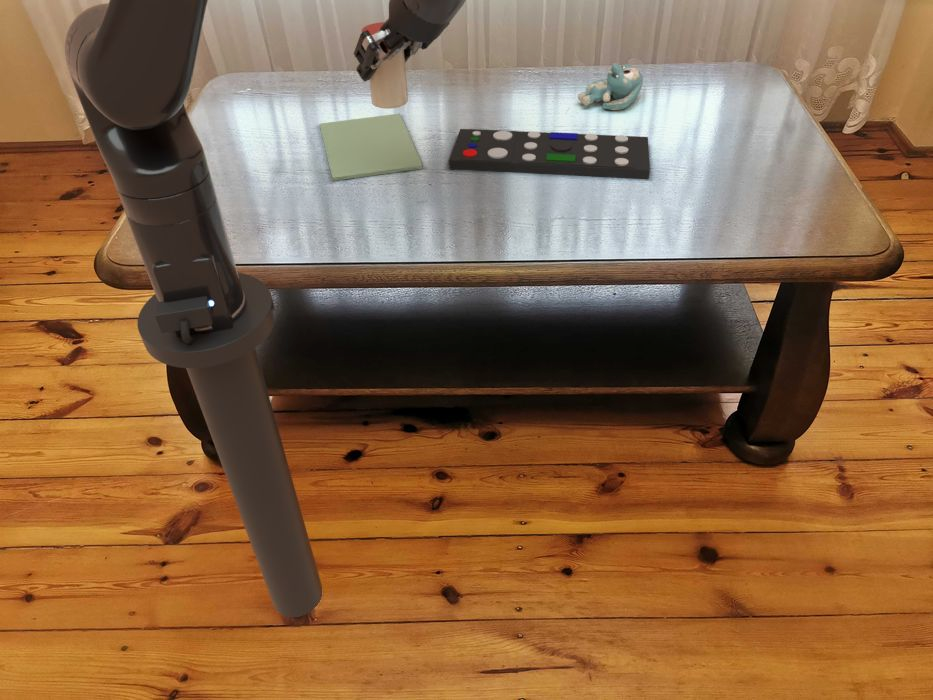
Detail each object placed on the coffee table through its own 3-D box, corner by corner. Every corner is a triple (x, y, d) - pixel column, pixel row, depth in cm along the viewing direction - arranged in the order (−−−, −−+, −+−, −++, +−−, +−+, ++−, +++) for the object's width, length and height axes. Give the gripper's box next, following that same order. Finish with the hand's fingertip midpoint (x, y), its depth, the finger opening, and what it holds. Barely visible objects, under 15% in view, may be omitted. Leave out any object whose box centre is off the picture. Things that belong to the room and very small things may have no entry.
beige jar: (411, 106, 105) (405, 36, 99) (374, 110, 105) (366, 41, 98) (404, 92, 109) (399, 24, 103) (369, 96, 109) (361, 28, 102)
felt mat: (423, 168, 116) (422, 165, 116) (332, 181, 114) (332, 177, 113) (400, 116, 131) (399, 113, 130) (320, 126, 128) (319, 123, 128)
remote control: (460, 137, 124) (460, 125, 123) (646, 145, 120) (648, 133, 119) (449, 168, 116) (448, 157, 115) (648, 179, 112) (650, 166, 111)
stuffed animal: (563, 67, 132) (623, 43, 133) (568, 104, 137) (625, 81, 138) (594, 89, 124) (656, 63, 126) (597, 127, 129) (657, 102, 131)
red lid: (408, 47, 100) (407, 33, 99) (366, 52, 99) (364, 38, 98) (401, 33, 104) (400, 20, 103) (360, 38, 103) (358, 24, 102)
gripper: (457, -45, 94) (403, 32, 109) (368, -21, 87) (322, 59, 101) (487, 7, 95) (429, 78, 109) (402, 36, 87) (352, 108, 102)
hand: (378, 68), depth 105 cm, fingers closed on beige jar, 5 cm apart
